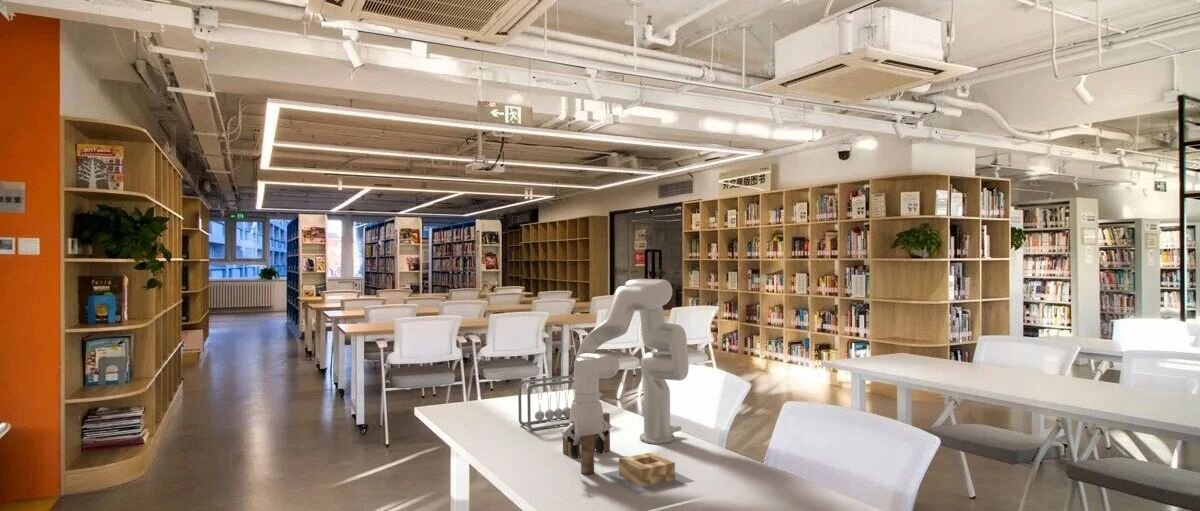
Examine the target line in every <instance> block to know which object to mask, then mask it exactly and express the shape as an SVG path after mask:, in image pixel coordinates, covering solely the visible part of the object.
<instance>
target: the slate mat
mask: <svg viewBox="0 0 1200 511" xmlns="http://www.w3.org/2000/svg"><path fill="white" fill-rule="evenodd" d="M601 475H602V476H604V477H606V478H608V479H609V480H611V481H612V482H615V483H616V484H619V485H620V486H622V487H624V488H625V489H628V490H629V491H631V492H633V493H634V494H636V495H640V494H643V493H648V492H652V491H657V490H661V489H665V488H666V489H667V488H670V487H674V486H675V487H676V486H679V485H684V484H688V483H693V482H694V480H693V479H692V478H688V477H686V476H685V475H682V474H681V473H678V472H677V471H675V480H670V481H666V482H661V483H657V484H653V485H648V486H644V487H640V486H638V485H637V484H635V483H633V482H631V481H629V480H627V479H625V478H624V477H622V476H620V475H619V469H617V470H612V471H608V472H603V473H602V472H601Z"/></svg>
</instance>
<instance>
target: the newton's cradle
mask: <svg viewBox="0 0 1200 511" xmlns="http://www.w3.org/2000/svg"><path fill="white" fill-rule="evenodd" d="M531 383H532V384H531ZM523 384H526V385H529V386H528V388H527V393H526V394H527V398H526V400H527V421H522V385H523ZM565 384H574V374H570V375H561V376H552V377H543V378H534V379H533V378H532V379H523V380H521V381H520V382H519V383H518V387H517V389H518V399H517V400H518V402H517V403H518V406H517V407H518V423H519V424H520V425H521V426H526V427H528V429H529V430H530V431H532V430H534V431H540V430H539V429H541V430H545V428H548V429H551V428H550V427H555V426H560V425H568V426H569V422H564V423H555V424H549V425H543V426H535V427H532V426H531V425H534V424H533V423H536V424H540V423H539V422H543V423H547V422H546V421H550V422H552V421H551V420H557V419H564V418H569V415H570V411H571V407H569V406H568V403H569V400H566V404H565V406H566V407H563V409H561V408H560V406H559V401H556V407H557V408H555V409H554V410H552V409H551V408H548V409H547V410H545V412H544V411H542V410H541V408H542V404H539V408H538V411H536V412H535V413H534V418H535V419H536V420H532V419H531V417H532V416H531V414H532V413H531V411H532V410H531V390H532V388H539V387H542V388H541V389H543V387H548V386H551V387H550V389H552V388H553V386H557V385H559V386H561V385H563V386H564V388H566V385H565ZM572 388H573V389H572V390H573V391H572V392H573V393H575V388H574V386H572ZM548 389H549V388H546V390H547V391H546V392H547V394H549V390H548ZM569 391H570V387H568V390H567V392H568V393H567V394H569ZM537 392H538V393H537V394H538V397H537V398H538V399H542V397H543V393H541V395H540V396H539V390H537ZM557 393H558V392H557V390H555V395H556V396H559V397H558V400H560V396H561V392H559V395H558V394H557ZM564 395H565V397H564V399H567V395H566V393H564ZM551 397H552V396H550V397H549V399H550V400H549V399H547V405H548V406H550V403H551V400H552V398H551ZM574 399H575V397H573V400H574ZM531 420H532V421H531ZM564 420H565V419H564ZM557 421H558V420H557ZM527 424H528V425H527ZM555 428H556V427H555Z"/></svg>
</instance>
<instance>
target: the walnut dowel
mask: <svg viewBox="0 0 1200 511" xmlns="http://www.w3.org/2000/svg"><path fill="white" fill-rule="evenodd" d="M580 473H581V475H583V476H590V475H591V476H592V475H594V474H595V451H594V435H588V436H584V437H581V456H580Z"/></svg>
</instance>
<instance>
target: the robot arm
mask: <svg viewBox="0 0 1200 511" xmlns="http://www.w3.org/2000/svg"><path fill="white" fill-rule="evenodd" d="M672 295H673V287H672V285H671V283H670V281H668V280H666V279H662V278H660V279H657V278H652V279H651V278H633V279H629V280H627V281H626V282H625V283H624V285H621V286H618V287H617V288H616V290H615V291H614V293H613V296H612V298H611V301H610V303H609V306H608V308H607V311H606V313H605V316H604V319H603V320H602V322H601V323H600V324H598V325H597V326H596V327H594V328H593V330H592V329H591V331H590V332H589V333H588V334H586V336H585V337H584V338H583V340H582V341H581V344H580V345H579V348H578V350H577V352H576V356H575V360H574V363H573V365H574V366H573V371H574V372H573V373H574V374H573V375H574V378H573V380H574V383H573V387H574V398H575V402H573V401H572V403H571V407H570V409H571V411H570V421H569V420H568V423H569V425H568V426H566V427H565V428H564V429H563V430H562V431H561V434H562V437H563V436H564V437H565V439H566V440H567V441H568V442H569V443H570V444H571V455H572V457H574V458H573V459H578V458H579V457H578V445H577V442H578V440H579V438H580V437H584V436H588V435H596V436H597V437H598V438H597V439H596V450H595V451H596V452H597V453H598V454H600V455H602V454H604V452H603V449H604V440H605V437H606V436H607V435H608V433H609V430H610V431H611V429H612V424H611V423H610V424H609V423H608V422H606V421H604V418H603V413H604V410H603V405H602V401H601V400H600V398H601V397H603V392H602V391H600V379H610V378H613V377H614V376H616V375H617V373H618V372H619V369H620V362H619V359H618V358H617V357H616V356H615V355H613V354H611V353H610V354H609V353H601V352H596V351H597V350H598V348H599V347H601V346H602V345H603V344H605V343H607V342H610V341H612V340H615V339H617V338H620V337H622V336H624V335H625V334H626V333H628V330H629V327H630V325H631V322H632V320H633V316H634V313H635V312H639V317H640V327H641V337H642V338H641V339H642V343H643V346H644V347H646V348H647V349H650V350H661V351H649V352H645V353H644V354H643V355H642V357H641V359H640V371H641V375H642V376H641V377H642V381H643V382H642V384H643V433H641V434H640V435H639V440H640V441H641V442H643V443H646V444H647V443H648V444H655V445H657V444H659V445H660V444H661V445H662V444H670V443H672V442H674V441H675V439H676V438H675V435H674V434H675V432H676V433H679V432H682V427H681V425H676V426H674V425H671V391H670V387H669V385H668V383H667V380H668V381H683V380H685V379H686V378H687V377H688V375H689V369H690V368H689V353H688V340H687V333H686V331H685V328H684V327H683V326H681V325H680V324H678V323H667V322H666V320H665V313H664V308H663V306H665V305H666V304H668V303H669V301H670V300H671V299H672ZM665 351H669V352H665ZM604 426H605V428H604ZM569 432H570V433H571V434H572V436H571V437H570V436H569Z"/></svg>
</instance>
